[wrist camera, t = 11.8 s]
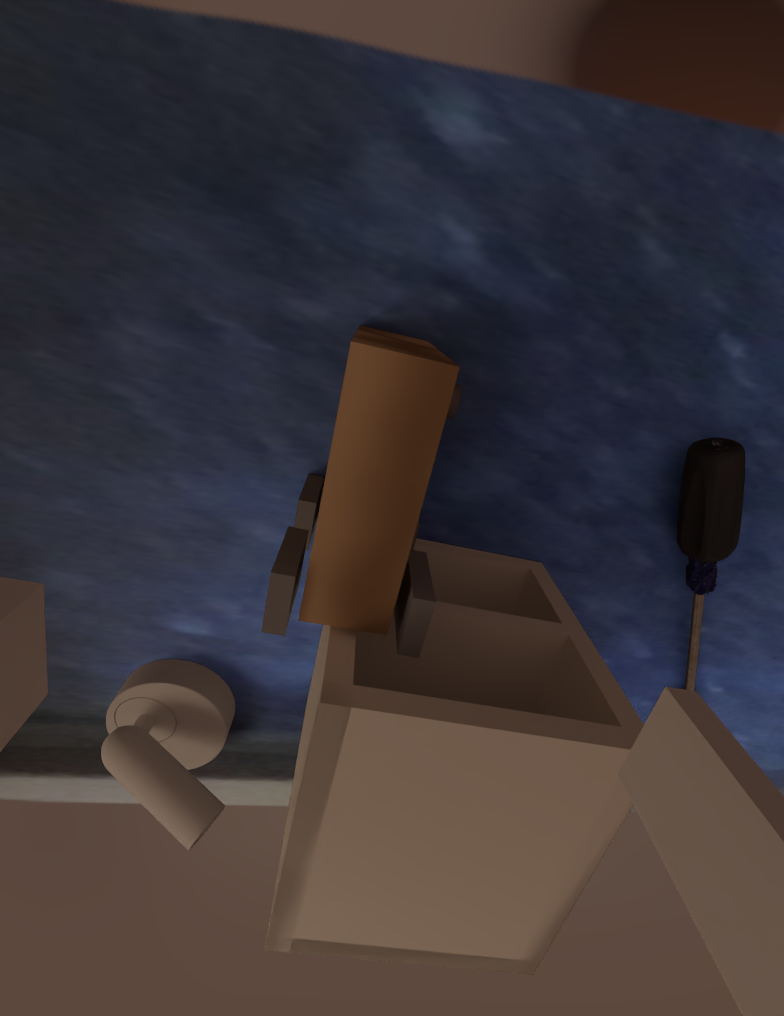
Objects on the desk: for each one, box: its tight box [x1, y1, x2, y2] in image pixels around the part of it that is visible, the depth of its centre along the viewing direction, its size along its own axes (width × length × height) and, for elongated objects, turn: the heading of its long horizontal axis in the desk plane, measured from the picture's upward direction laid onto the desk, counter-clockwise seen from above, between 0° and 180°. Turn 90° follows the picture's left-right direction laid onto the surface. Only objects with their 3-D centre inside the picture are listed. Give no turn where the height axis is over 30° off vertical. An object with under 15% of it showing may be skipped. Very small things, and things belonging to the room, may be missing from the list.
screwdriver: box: [677, 438, 745, 691], centre depth 35 cm, size 26×4×4 cm, turn 11°
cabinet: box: [262, 474, 644, 975], centre depth 29 cm, size 17×19×16 cm
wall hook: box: [101, 659, 235, 850], centre depth 35 cm, size 9×10×10 cm
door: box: [299, 325, 461, 635], centre depth 26 cm, size 5×12×12 cm, turn 167°
